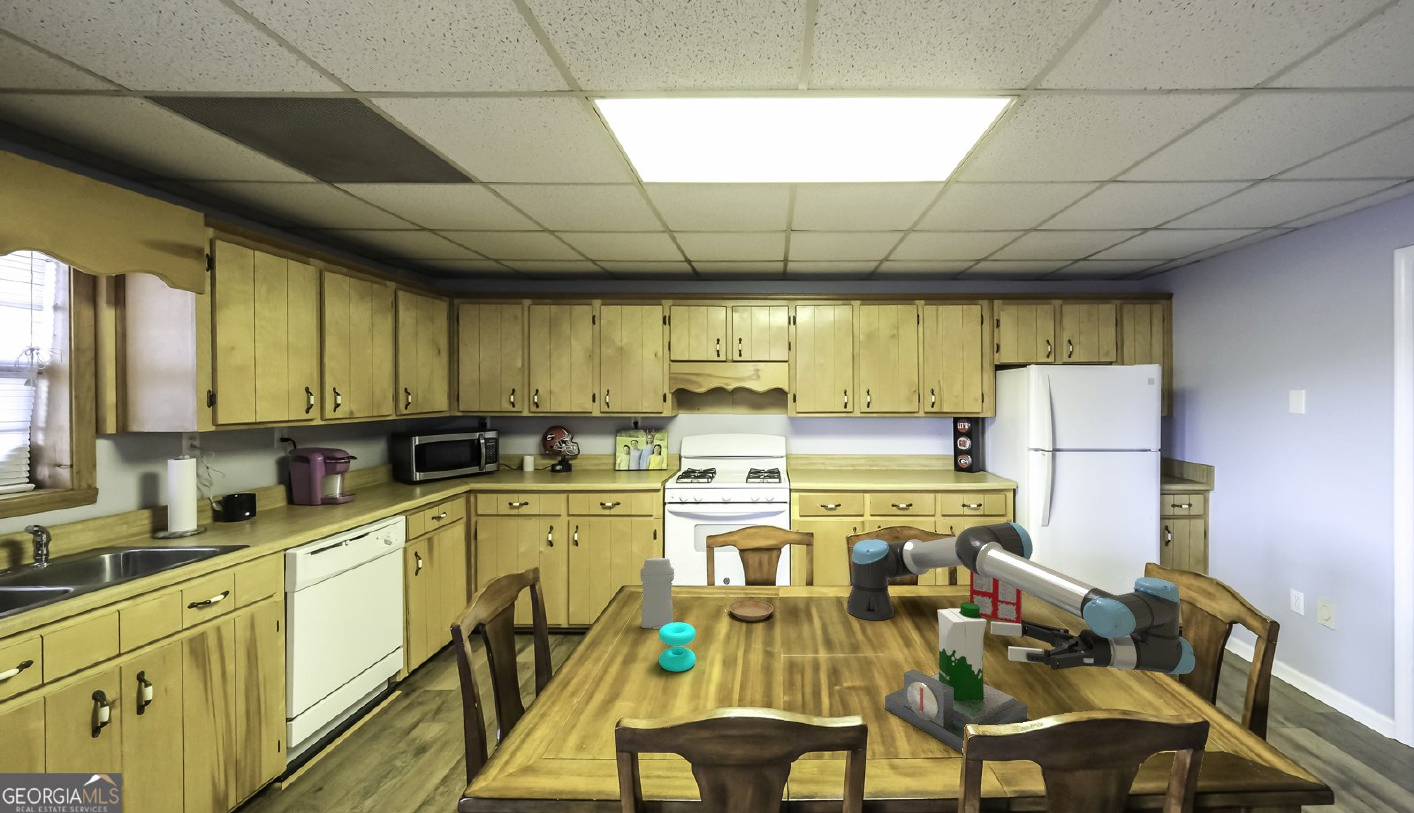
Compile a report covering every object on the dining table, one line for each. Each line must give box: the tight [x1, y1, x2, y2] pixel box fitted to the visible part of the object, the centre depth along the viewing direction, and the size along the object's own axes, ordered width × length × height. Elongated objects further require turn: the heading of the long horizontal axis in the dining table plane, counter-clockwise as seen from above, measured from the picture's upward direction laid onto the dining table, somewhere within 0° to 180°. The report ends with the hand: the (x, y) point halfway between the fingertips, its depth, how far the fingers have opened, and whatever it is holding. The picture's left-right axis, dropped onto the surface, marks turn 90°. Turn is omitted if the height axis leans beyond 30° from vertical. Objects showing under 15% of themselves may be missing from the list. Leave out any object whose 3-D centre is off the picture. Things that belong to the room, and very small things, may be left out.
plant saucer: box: [728, 599, 774, 622], centre depth 187 cm, size 15×15×3 cm
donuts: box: [658, 621, 697, 673], centre depth 152 cm, size 10×10×10 cm
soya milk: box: [937, 602, 988, 700], centre depth 130 cm, size 9×9×20 cm
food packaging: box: [969, 570, 1023, 624], centre depth 186 cm, size 15×5×25 cm, turn 58°
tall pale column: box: [639, 557, 675, 630], centre depth 177 cm, size 11×4×22 cm, turn 95°
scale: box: [884, 668, 1028, 754], centre depth 129 cm, size 20×24×10 cm
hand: (999, 639), depth 128 cm, fingers open, 13 cm apart
